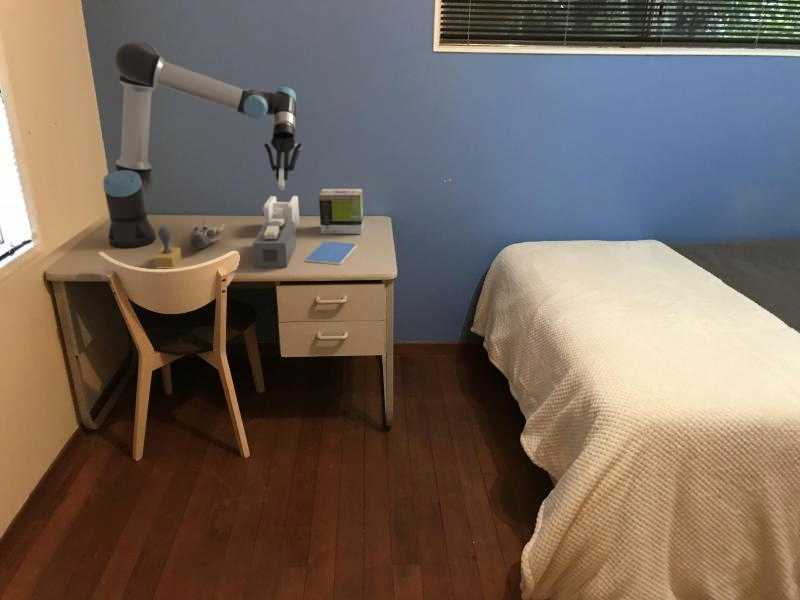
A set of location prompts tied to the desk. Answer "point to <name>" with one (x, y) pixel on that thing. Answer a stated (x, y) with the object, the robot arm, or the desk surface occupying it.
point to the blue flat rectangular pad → (331, 253)
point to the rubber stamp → (167, 251)
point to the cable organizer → (282, 210)
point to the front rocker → (271, 232)
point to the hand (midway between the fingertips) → (281, 187)
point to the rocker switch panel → (275, 246)
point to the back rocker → (276, 222)
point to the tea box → (341, 211)
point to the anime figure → (205, 235)
